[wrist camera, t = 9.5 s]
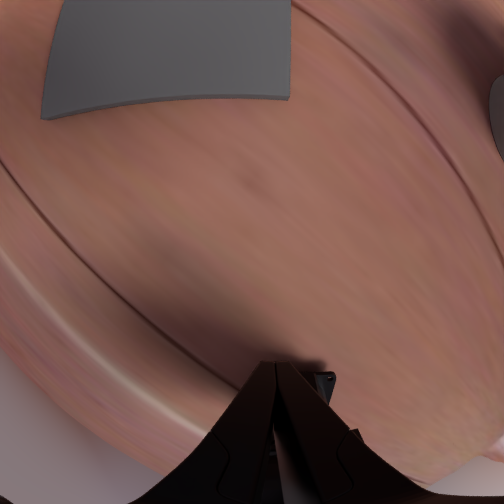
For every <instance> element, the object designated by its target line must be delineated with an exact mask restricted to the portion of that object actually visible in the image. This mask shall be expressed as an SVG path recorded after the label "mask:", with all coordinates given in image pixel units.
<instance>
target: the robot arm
mask: <svg viewBox="0 0 504 504" xmlns="http://www.w3.org/2000/svg"><path fill="white" fill-rule="evenodd" d="M329 377H331V378H329ZM335 382H336V375H335V373H334V372H331V371H329V372H298V371H297V370H296V368H295V367H294V366H293V365H292V364H291V363H290V362H289V361H277V362H275V363H274V362H273V361H261V362H260V363H259V364H258V366H257V367H256V368H255V370H254V371H253V373H252V374H251V376H250V377H249V378H248V380H247V381H246V383H245V384H244V386H243V387H242V388H241V390H240V391H239V392H238V394H237V395H236V397H235V398H234V399H233V401H232V402H231V403H230V405H229V406H228V408H227V409H226V410H225V412H224V413H223V414H222V416H221V417H220V418H219V420H218V421H217V422H216V423H215V425H214V426H213V427H212V429H211V430H210V432H208V434H207V435H206V436H205V438H204V439H203V440H202V441H201V442H200V444H199V445H198V446H197V447H196V448H195V449H194V451H193V452H192V453H191V454H190V455H189V456H188V457H187V458H186V459H185V460H184V461H183V462H182V463H180V464H179V465H178V466H177V467H176V468H175V469H174V470H173V471H171V472H170V473H169V474H168V475H167V476H166V477H165V478H163V479H162V480H161V481H160V482H159V483H158V484H156V485H155V486H154V487H153V488H151V489H150V490H149V491H148V492H146V493H145V494H144V495H142V496H141V497H139V498H138V499H136V500H134V501H132V502H130V503H128V504H504V496H457V495H445V494H438V493H434V492H431V491H428V490H426V489H424V488H422V487H420V486H419V485H417V484H415V483H414V482H413V481H411V480H410V479H408V478H407V477H406V476H404V475H403V474H402V473H400V472H399V471H398V470H396V469H395V468H394V467H392V466H391V465H390V464H388V463H387V462H386V461H384V460H383V459H382V458H381V457H380V456H378V455H377V454H376V453H375V452H374V451H372V450H371V449H370V448H369V447H368V446H367V445H366V444H365V443H364V441H363V439H362V437H361V435H360V432H359V430H358V428H357V429H353V430H350V428H349V427H348V426H347V425H346V424H345V423H344V422H343V420H342V419H341V418H340V417H339V416H338V415H337V414H336V413H335V412H334V411H333V410H332V409H331V407H330V406H329V402H330V399H331V396H332V392H333V389H334V385H335ZM0 504H13V503H12V502H10V501H9V500H7V499H6V498H4V497H3V496H1V495H0Z"/></svg>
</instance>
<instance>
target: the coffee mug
mask: <svg viewBox="0 0 504 504" xmlns="http://www.w3.org/2000/svg"><path fill="white" fill-rule="evenodd" d="M489 115H490V122H491V127H492V132H493V136H494V139H495V142H496V146H497V148H498V151H499V153H500V155H501V157H502V159H503V161H504V75H501V76H499V77H497V78H496V80H495V81H494V83H493V84H492V87H491V90H490V96H489Z"/></svg>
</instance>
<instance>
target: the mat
mask: <svg viewBox="0 0 504 504" xmlns="http://www.w3.org/2000/svg"><path fill="white" fill-rule="evenodd" d="M290 61H291V0H64V3H63V6H62V9H61V13H60V16H59V19H58V23H57V26H56V30H55V34H54V38H53V42H52V47H51V51H50V56H49V61H48V66H47V72H46V78H45V84H44V91H43V99H42V109H41V119H43V120H53V119H57V118H61V117H65V116H70V115H74V114H79V113H84V112H89V111H94V110H99V109H105V108H111V107H118V106H125V105H132V104H140V103H149V102H159V101H172V100H187V99H214V98H244V99H271V100H287V101H288V99H289V97H290Z"/></svg>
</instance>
